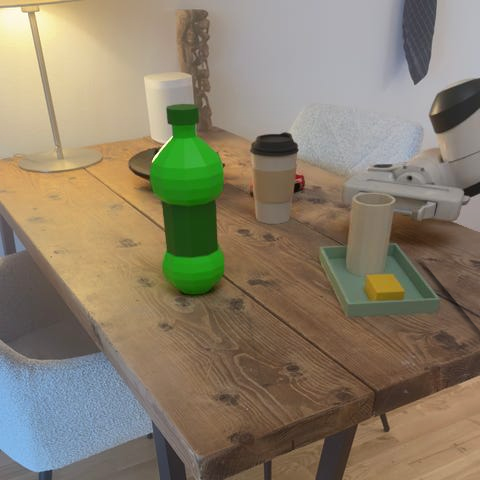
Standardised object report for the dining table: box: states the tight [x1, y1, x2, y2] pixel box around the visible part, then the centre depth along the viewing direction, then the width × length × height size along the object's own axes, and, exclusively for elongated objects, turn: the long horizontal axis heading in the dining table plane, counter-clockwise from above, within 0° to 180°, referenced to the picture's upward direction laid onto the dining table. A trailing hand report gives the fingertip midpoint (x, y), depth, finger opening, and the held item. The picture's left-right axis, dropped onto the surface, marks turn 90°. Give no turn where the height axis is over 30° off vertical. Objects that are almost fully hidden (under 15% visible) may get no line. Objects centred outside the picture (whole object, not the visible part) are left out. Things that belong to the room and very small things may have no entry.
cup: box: [346, 193, 396, 277], centre depth 88 cm, size 6×6×11 cm
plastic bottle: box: [149, 103, 226, 295], centre depth 81 cm, size 10×10×25 cm
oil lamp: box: [127, 145, 226, 182], centre depth 130 cm, size 22×30×8 cm
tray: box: [318, 242, 441, 318], centre depth 87 cm, size 21×13×3 cm, turn 4°
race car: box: [249, 172, 306, 195], centre depth 125 cm, size 13×5×4 cm, turn 118°
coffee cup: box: [249, 131, 299, 225], centre depth 108 cm, size 9×9×15 cm
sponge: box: [364, 274, 405, 301], centre depth 82 cm, size 6×4×2 cm, turn 4°
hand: (387, 211), depth 91 cm, fingers open, 8 cm apart
